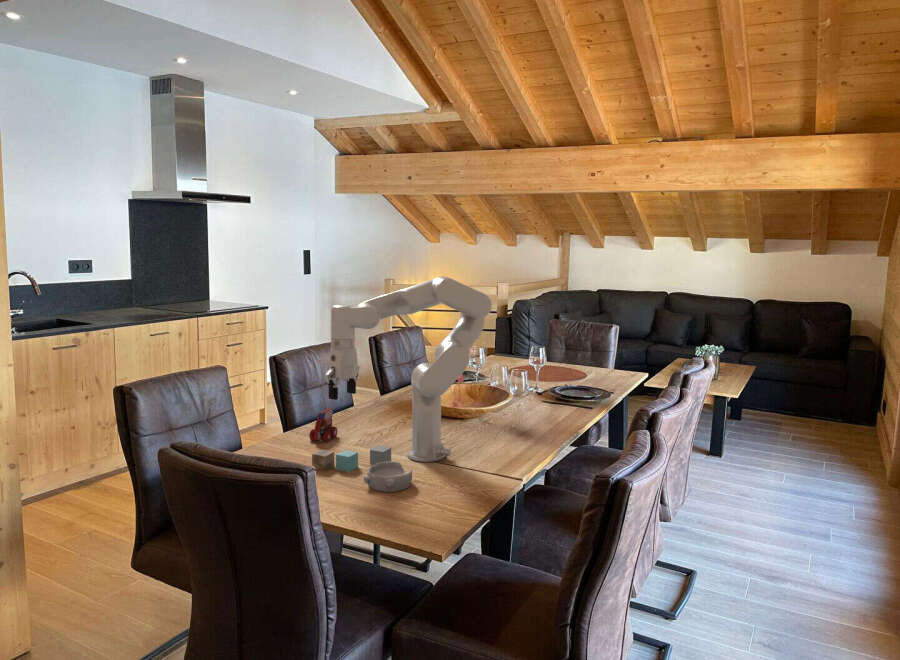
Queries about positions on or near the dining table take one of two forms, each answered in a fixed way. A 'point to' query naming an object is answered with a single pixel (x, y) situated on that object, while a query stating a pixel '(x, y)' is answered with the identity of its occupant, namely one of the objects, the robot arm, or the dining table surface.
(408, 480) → the dish
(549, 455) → the dining table surface
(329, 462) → the walnut block
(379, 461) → the slate grey block
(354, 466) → the teal block
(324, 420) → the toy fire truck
